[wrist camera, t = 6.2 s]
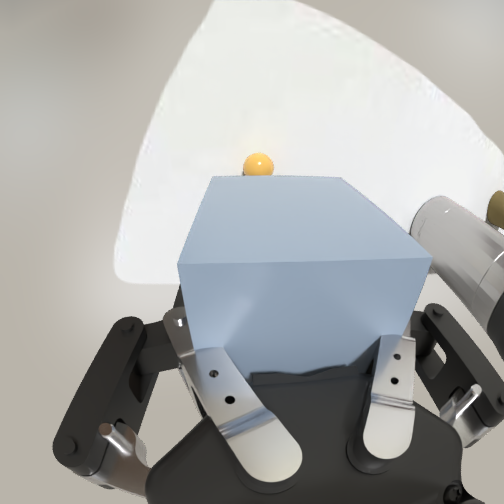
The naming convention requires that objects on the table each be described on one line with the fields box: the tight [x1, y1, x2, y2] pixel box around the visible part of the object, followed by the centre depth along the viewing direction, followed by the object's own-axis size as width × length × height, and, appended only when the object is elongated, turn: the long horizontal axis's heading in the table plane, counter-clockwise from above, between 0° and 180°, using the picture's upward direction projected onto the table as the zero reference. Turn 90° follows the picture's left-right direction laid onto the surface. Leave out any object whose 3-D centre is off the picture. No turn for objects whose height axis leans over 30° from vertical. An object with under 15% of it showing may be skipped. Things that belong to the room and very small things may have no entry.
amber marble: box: [243, 153, 274, 176], centre depth 26 cm, size 3×3×3 cm
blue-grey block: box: [177, 175, 433, 383], centre depth 12 cm, size 9×6×8 cm
